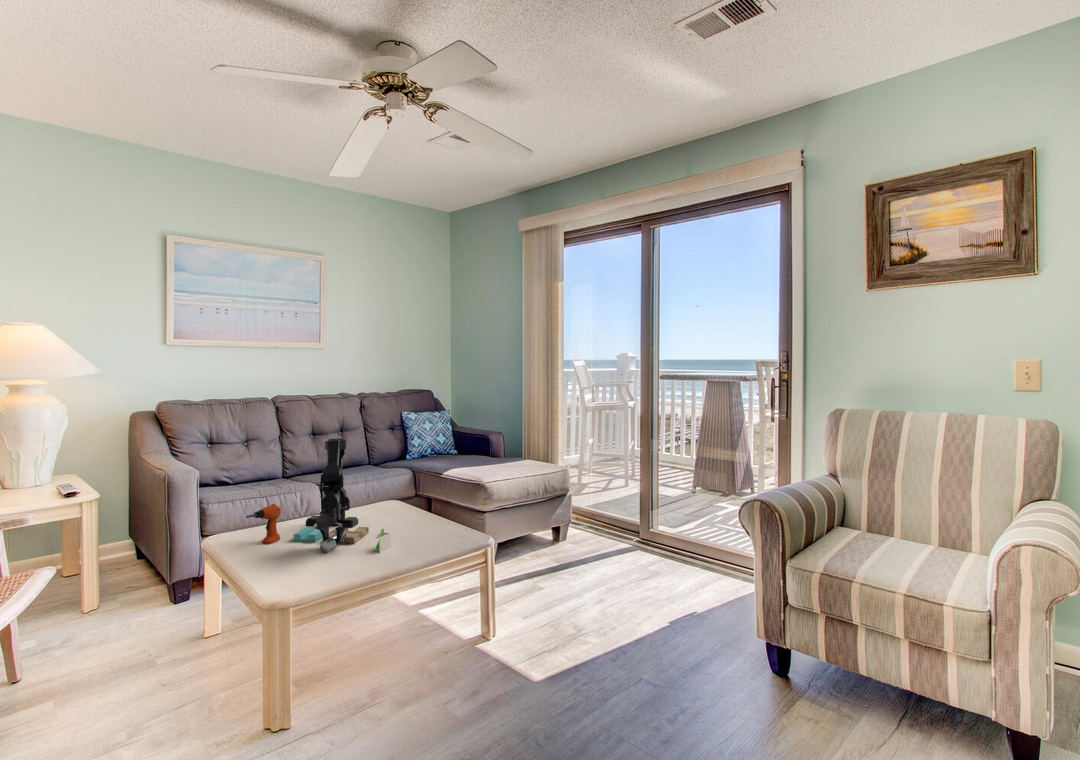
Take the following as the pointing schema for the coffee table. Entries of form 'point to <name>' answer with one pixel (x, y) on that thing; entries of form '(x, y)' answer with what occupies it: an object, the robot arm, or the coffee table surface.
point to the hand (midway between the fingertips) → (332, 543)
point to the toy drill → (269, 522)
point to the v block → (308, 535)
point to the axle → (330, 543)
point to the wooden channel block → (352, 535)
